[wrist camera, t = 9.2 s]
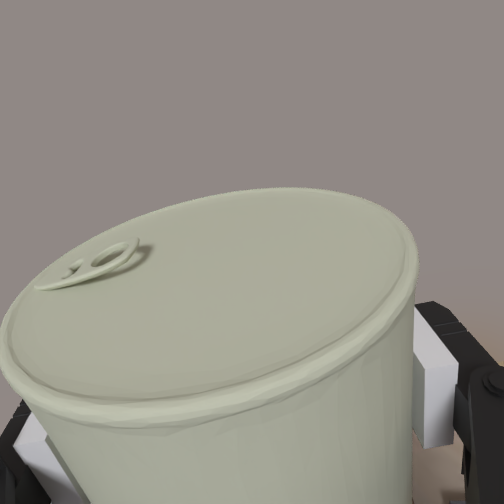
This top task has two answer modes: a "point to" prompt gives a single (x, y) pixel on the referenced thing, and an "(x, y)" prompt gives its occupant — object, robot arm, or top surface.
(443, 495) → the top surface
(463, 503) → the grey picture frame
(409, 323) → the can
